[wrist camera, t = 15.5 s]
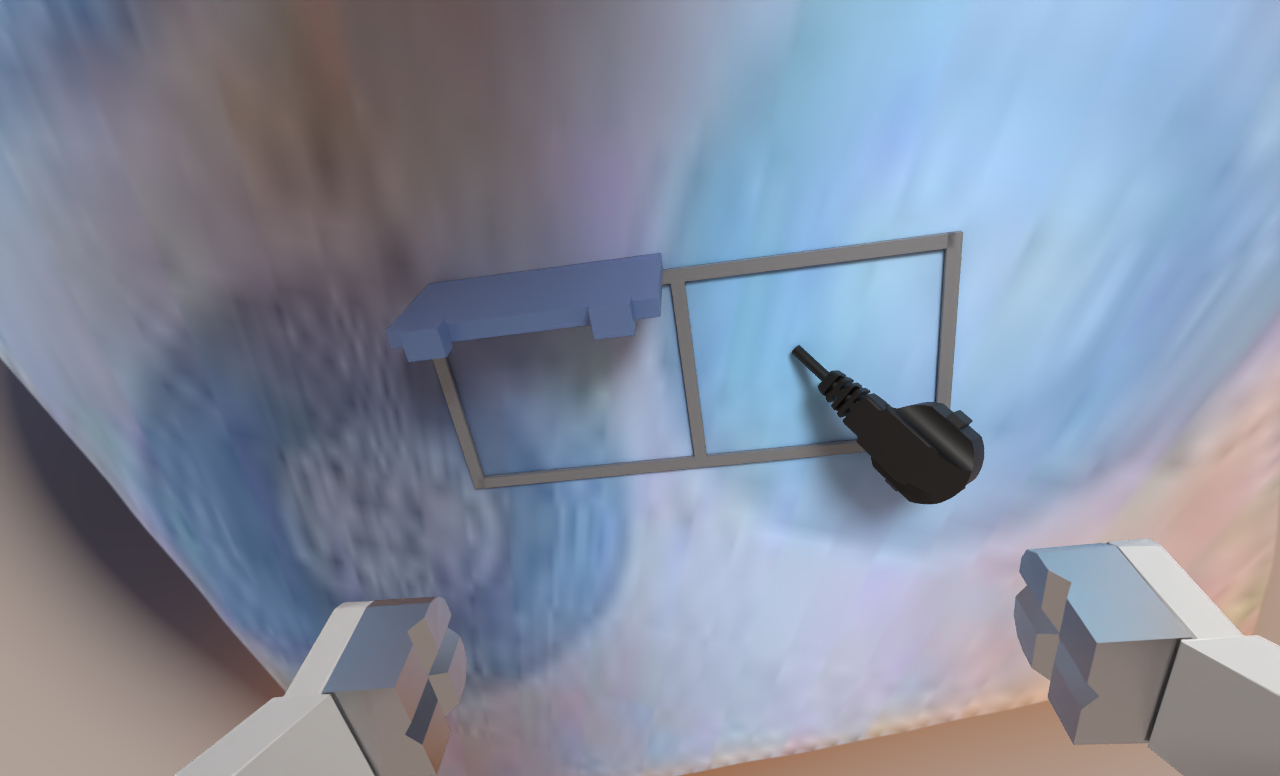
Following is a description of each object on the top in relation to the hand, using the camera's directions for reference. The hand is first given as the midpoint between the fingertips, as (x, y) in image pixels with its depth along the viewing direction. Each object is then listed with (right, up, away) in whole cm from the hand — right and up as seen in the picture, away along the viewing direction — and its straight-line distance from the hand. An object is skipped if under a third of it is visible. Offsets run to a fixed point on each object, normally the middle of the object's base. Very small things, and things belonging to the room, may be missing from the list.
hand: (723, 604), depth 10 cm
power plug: (+10, +6, +34) cm, 36 cm away
